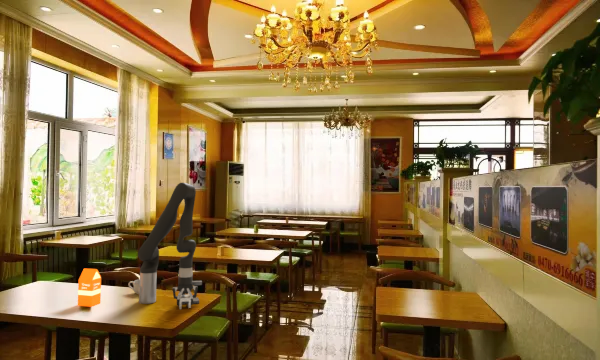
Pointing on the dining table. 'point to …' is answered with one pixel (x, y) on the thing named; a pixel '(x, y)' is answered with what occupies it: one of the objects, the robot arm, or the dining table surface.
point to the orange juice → (89, 288)
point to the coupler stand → (196, 300)
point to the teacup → (135, 285)
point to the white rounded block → (185, 300)
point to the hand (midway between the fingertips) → (184, 305)
